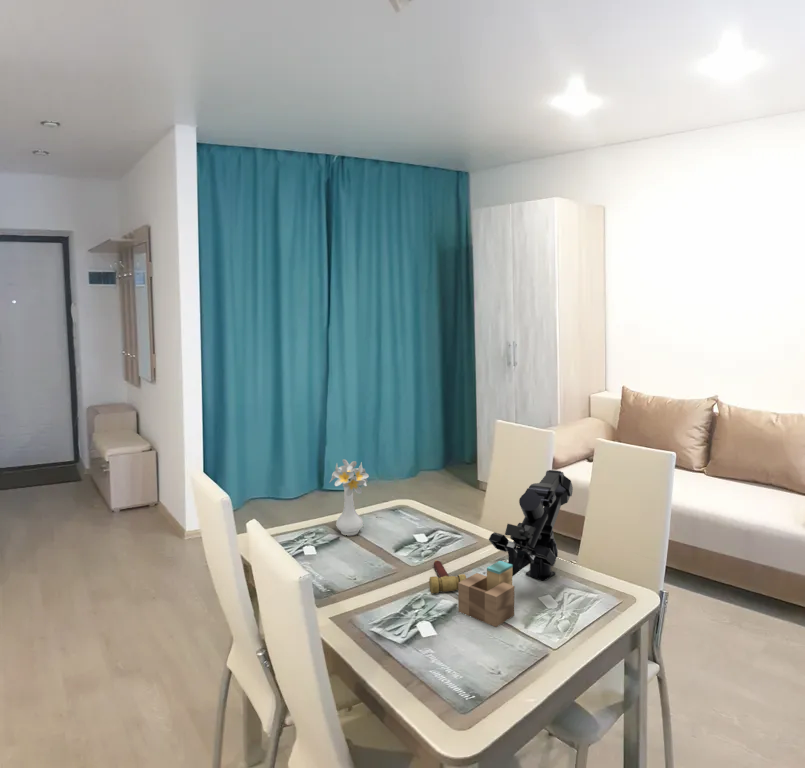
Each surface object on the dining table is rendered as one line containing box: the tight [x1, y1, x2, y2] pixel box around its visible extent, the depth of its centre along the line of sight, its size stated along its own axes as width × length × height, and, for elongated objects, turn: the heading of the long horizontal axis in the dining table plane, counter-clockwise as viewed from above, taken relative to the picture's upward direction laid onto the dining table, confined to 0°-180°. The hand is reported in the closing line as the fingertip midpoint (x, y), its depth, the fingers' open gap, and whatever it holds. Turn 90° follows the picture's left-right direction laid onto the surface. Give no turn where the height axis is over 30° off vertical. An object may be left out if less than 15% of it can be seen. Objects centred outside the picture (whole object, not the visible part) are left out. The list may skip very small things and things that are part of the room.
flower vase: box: [328, 459, 370, 537], centre depth 229 cm, size 13×18×25 cm
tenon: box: [486, 560, 514, 591], centre depth 177 cm, size 6×4×11 cm, turn 136°
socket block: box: [457, 572, 515, 628], centre depth 173 cm, size 8×12×8 cm, turn 46°
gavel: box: [428, 559, 467, 594], centre depth 195 cm, size 21×5×10 cm
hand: (509, 576), depth 179 cm, fingers closed
